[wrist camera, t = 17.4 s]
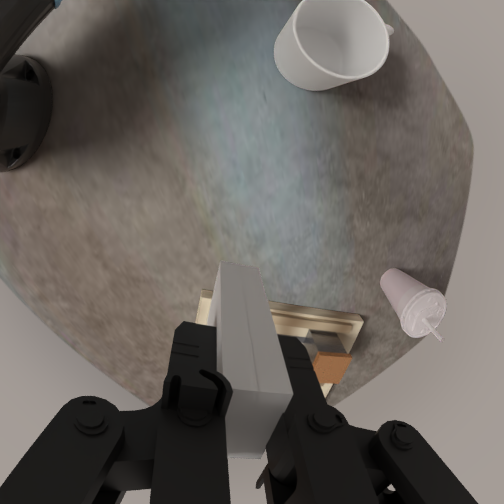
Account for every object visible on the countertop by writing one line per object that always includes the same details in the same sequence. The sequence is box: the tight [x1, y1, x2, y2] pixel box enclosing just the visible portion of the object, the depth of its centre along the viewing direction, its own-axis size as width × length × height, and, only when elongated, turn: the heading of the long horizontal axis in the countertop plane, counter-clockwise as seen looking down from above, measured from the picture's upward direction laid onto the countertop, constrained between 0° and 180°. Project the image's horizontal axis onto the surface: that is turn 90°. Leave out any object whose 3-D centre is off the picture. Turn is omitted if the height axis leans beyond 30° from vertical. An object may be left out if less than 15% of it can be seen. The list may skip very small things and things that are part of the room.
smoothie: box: [380, 268, 447, 342], centre depth 35 cm, size 6×6×14 cm
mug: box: [274, 0, 394, 91], centre depth 25 cm, size 9×12×11 cm
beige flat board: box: [195, 289, 364, 398], centre depth 43 cm, size 22×18×3 cm
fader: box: [303, 329, 352, 384], centre depth 39 cm, size 4×4×6 cm
